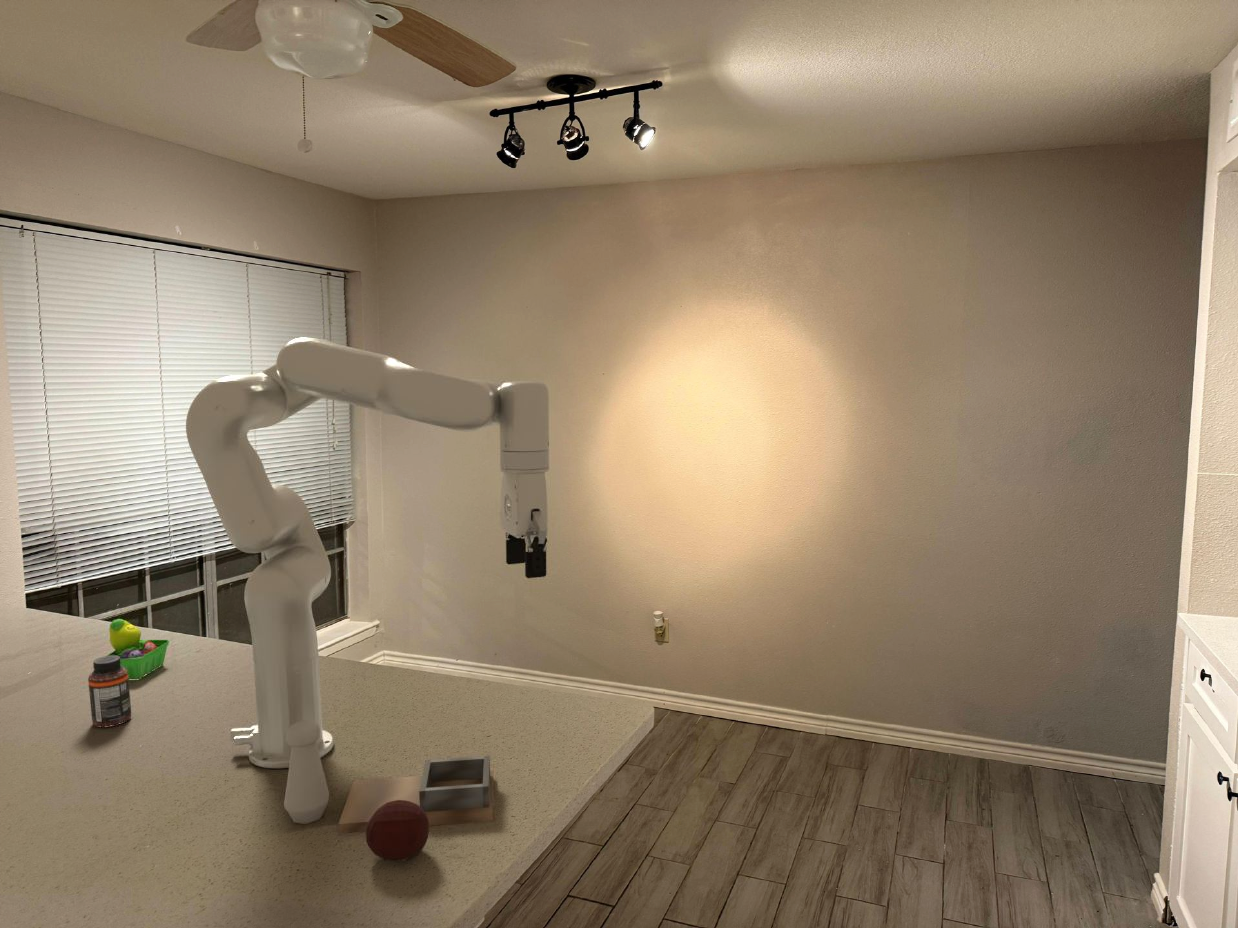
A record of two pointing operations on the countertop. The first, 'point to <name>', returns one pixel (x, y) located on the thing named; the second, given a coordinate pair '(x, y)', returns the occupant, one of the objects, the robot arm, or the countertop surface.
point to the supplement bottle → (109, 692)
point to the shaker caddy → (427, 793)
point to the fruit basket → (135, 649)
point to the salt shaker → (305, 774)
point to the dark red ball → (397, 830)
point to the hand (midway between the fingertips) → (525, 569)
